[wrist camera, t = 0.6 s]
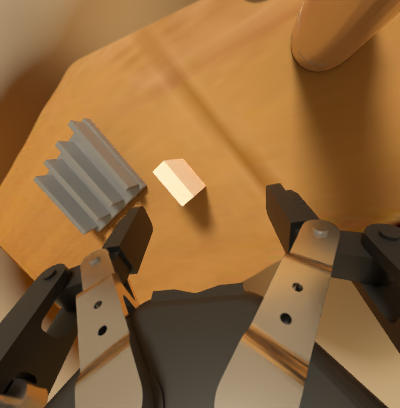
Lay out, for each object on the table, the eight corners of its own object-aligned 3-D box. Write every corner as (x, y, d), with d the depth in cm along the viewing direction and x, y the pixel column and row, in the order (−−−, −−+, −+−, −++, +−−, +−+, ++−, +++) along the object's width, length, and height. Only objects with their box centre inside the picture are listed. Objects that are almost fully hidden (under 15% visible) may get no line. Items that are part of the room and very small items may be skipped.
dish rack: (146, 185, 38) (133, 190, 34) (102, 229, 45) (85, 239, 40) (90, 119, 37) (67, 114, 32) (52, 174, 44) (29, 177, 39)
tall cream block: (205, 185, 35) (193, 196, 27) (196, 193, 36) (182, 206, 28) (183, 158, 35) (163, 160, 26) (174, 167, 36) (152, 172, 27)
